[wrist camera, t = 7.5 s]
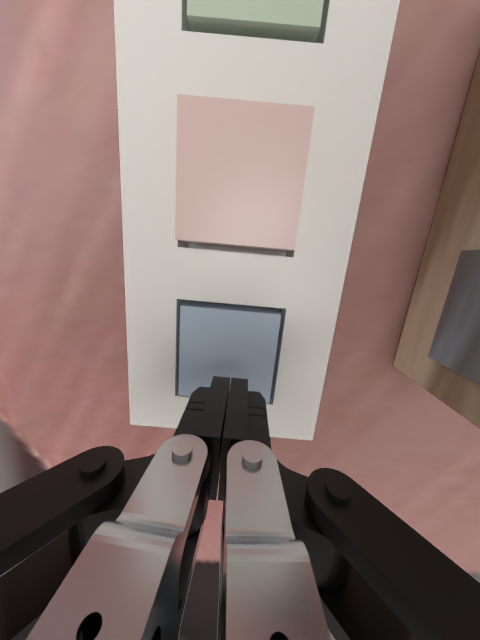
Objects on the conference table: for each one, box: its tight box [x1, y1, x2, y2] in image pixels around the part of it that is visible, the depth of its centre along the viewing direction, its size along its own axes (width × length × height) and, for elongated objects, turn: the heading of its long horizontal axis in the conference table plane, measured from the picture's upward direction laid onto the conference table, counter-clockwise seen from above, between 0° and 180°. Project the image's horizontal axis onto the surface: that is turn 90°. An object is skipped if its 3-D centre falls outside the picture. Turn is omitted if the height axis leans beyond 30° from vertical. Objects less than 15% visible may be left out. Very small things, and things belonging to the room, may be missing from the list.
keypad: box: [114, 0, 400, 441], centre depth 13 cm, size 12×29×3 cm, turn 175°
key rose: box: [175, 94, 315, 252], centre depth 11 cm, size 6×6×3 cm
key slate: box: [178, 300, 281, 403], centre depth 15 cm, size 6×6×3 cm
